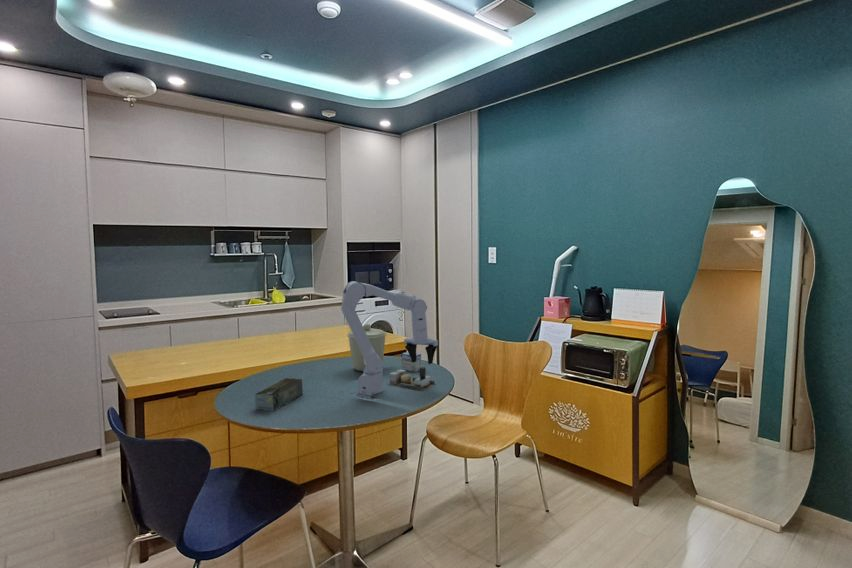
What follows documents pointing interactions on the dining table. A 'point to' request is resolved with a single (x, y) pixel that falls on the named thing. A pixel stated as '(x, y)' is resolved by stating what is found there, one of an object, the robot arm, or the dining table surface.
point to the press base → (396, 381)
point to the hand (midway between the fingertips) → (422, 362)
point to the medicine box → (408, 363)
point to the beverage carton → (278, 394)
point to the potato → (406, 379)
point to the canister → (376, 341)
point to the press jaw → (423, 378)
